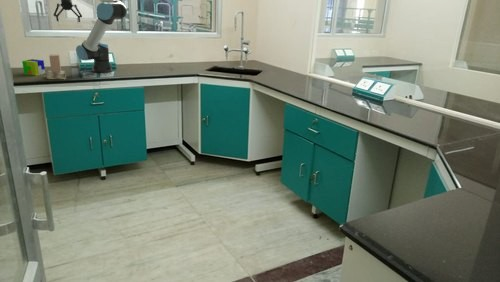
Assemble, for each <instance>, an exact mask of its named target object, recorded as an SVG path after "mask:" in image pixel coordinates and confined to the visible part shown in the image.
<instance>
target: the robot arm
mask: <svg viewBox="0 0 500 282" xmlns="http://www.w3.org/2000/svg"><path fill="white" fill-rule="evenodd" d="M99 1H100V3H99V4H97V6H96V11H95V13H96V17H97V19H96V21H95V24H94V25H93V27H92V29H91V31H90V33H89V35H88V36H87V38H86V39H84V40H83V41H82V43H81V44H79V45H77V46H76V48H75V52H76V56H77V57H78V59H79V60H80V61H91V60H93V64H92V72H93V73H110V72H113V68H112V65H111V62H110V55H109V54H110V52H109V45H108V43H106V42H101V41H102V38H103V36H104V35H105V33H106V31H107V29H108V27H109V26H111V25H112V24H113V23H114V21H115V20H122V19H124V18H125V17H126V16H127V12H128V9H127V6H126V5H125V4H124V3H123V2H122V1H120V0H99ZM59 7H62V8H61V9H60V11H58V10H59ZM73 8H75V10H76V11H75V10H74V9H73ZM63 11H72V13H73V14H74V15H76V17H77V18H76V21H77V27H80V23H81V18H82V17H83V15H82V13H81V12H80V10H79V8H78V5H77V4H73V1H72V0H60V3H56V7H55V10H54V13H53V16H54V17H55V18H56V22H58V27H60V26H61V21H60V17H59V16H60V15H61V13H62V12H63ZM57 12H58V13H57Z"/></svg>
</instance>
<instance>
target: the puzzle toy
mask: <svg viewBox="0 0 500 282" xmlns="http://www.w3.org/2000/svg"><path fill="white" fill-rule="evenodd" d="M21 62H22V69H23V74H24V75H28V76H35V75H36V76H39V75H40V74H41V75H44V73H45V74H46V69H45V67H46V66H45V61H44V59H27V60H26V59H25V60H22V61H21ZM41 75H40V76H41Z"/></svg>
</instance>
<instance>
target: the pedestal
mask: <svg viewBox="0 0 500 282" xmlns="http://www.w3.org/2000/svg"><path fill="white" fill-rule="evenodd" d="M45 74H46V80H47V79H64V80H67V70H61V72H57V73H51V70H47V72H46V73H45Z"/></svg>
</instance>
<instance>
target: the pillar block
mask: <svg viewBox="0 0 500 282" xmlns="http://www.w3.org/2000/svg"><path fill="white" fill-rule="evenodd" d="M48 57H49V64H50V71H51V73H57V72H61V71H62V68H61V67H62V66H61V59H60V58H61V57H60V54H49V55H48Z"/></svg>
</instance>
